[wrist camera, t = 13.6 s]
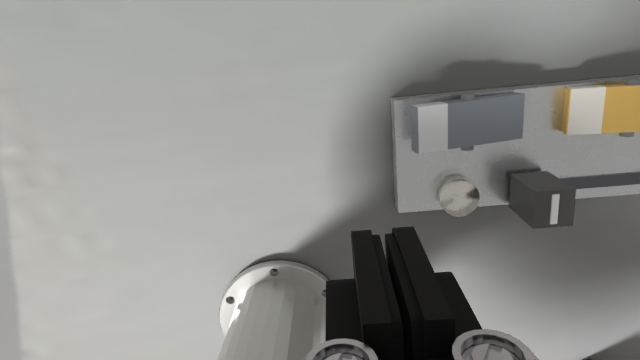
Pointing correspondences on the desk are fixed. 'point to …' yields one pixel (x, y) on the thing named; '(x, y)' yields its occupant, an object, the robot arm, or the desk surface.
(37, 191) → the desk surface
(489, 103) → the slate rocker
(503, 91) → the panel
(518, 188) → the slider knob
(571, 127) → the amber rocker
